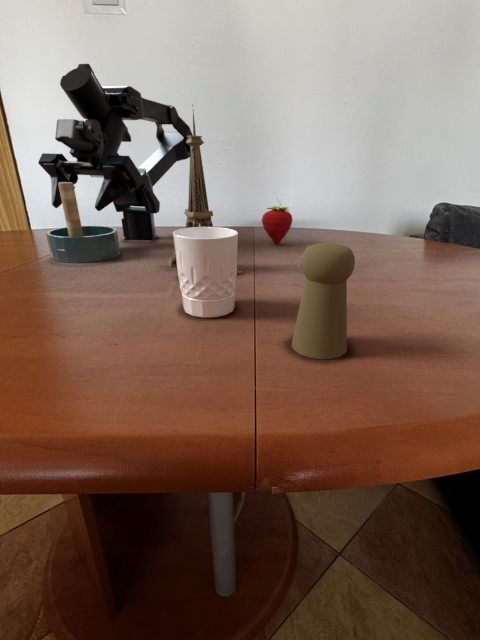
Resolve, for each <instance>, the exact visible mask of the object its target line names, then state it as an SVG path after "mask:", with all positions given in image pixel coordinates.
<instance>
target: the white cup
mask: <svg viewBox="0 0 480 640" xmlns="http://www.w3.org/2000/svg"><path fill="white" fill-rule="evenodd" d="M172 237H173V245H174V251H175V253H176V261H177V267H176V268H177V277H178V276H179V278H178V282H179V289H180V292H181V299H182V307H183V310H184V312H185V314H188V315H190V316H192V317H195V318H196V317H197V318H204V319H205V318H208V319H209V318H210V319H211V318H219V317H223V316H227V315H228V314H230V313H233V311H234V309H235V306H236V304H235V303H236V289H237V276H238V274H237V269H238V250H239V249H238V246H239V245H238V244H239V232H238V231H237V230H235V229H232V228H227V227H220V226H219V227H218V226H213V227H200V226H199V227H191V228H185V227H184V228H178V229H176V230H174V231H173V232H172Z"/></svg>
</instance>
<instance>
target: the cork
mask: <svg viewBox="0 0 480 640" xmlns="http://www.w3.org/2000/svg"><path fill="white" fill-rule="evenodd" d="M355 258H356V257H355V254H354V251H352V249H351V248H350V247H349V246H346V245H344V244H339V243H335V242H318V243H313V244H310V245H309V246H307V247H306V248H305V250H304V251H303V253H302V256H301V270H302V273H303V276H304V277H305V279H304V284H303V289H302V293H301V299H300V302H299V303H300V304H299V307H298V312H297V317H296V322H295V327H294V331H293V336H292V341H291V348H292V349H293V351H295V352H296V353H298V354H299V355H301V356H304V357H306V358H310V359H315V360H332V359H337V358H340V357H342V356H343V355H345V354H346V353H347V350H348V291H347V290H348V283H347V282H348V279H349V278H350V277H351V276H352V274H353V272H354V270H355V267H356V266H355V265H356V259H355Z"/></svg>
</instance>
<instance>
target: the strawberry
mask: <svg viewBox="0 0 480 640" xmlns="http://www.w3.org/2000/svg"><path fill="white" fill-rule="evenodd" d="M277 201H278V202H279V206H274V205H273V206H272V207H266V210H269V211H266V212H264V214H263V215H262V217H261V224H262V227H263V230H264V232H265V233H266V234H267V236H268V237H269V238H270V239H271V241H272V243H274V245H279V244H280V243H282V241H283V239H284V238H285V237H286V236H287V234H288V232H289V230H290V229H291V226H292V224H293V215H292V213H290V210H289V207H285V206H281V202H280V200H279V199H277Z"/></svg>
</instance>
